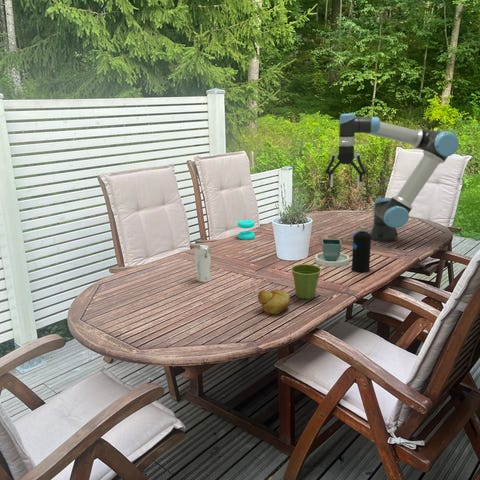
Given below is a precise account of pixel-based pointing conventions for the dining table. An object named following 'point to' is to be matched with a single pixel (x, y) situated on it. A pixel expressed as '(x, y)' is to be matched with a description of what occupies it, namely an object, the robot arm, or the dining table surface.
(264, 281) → the dining table surface
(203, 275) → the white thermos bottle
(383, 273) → the dining table surface
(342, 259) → the saucer
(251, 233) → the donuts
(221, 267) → the dining table surface
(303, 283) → the plant pot
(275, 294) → the brown lumpy oval
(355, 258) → the aerosol can
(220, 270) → the dining table surface
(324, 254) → the flower pot
